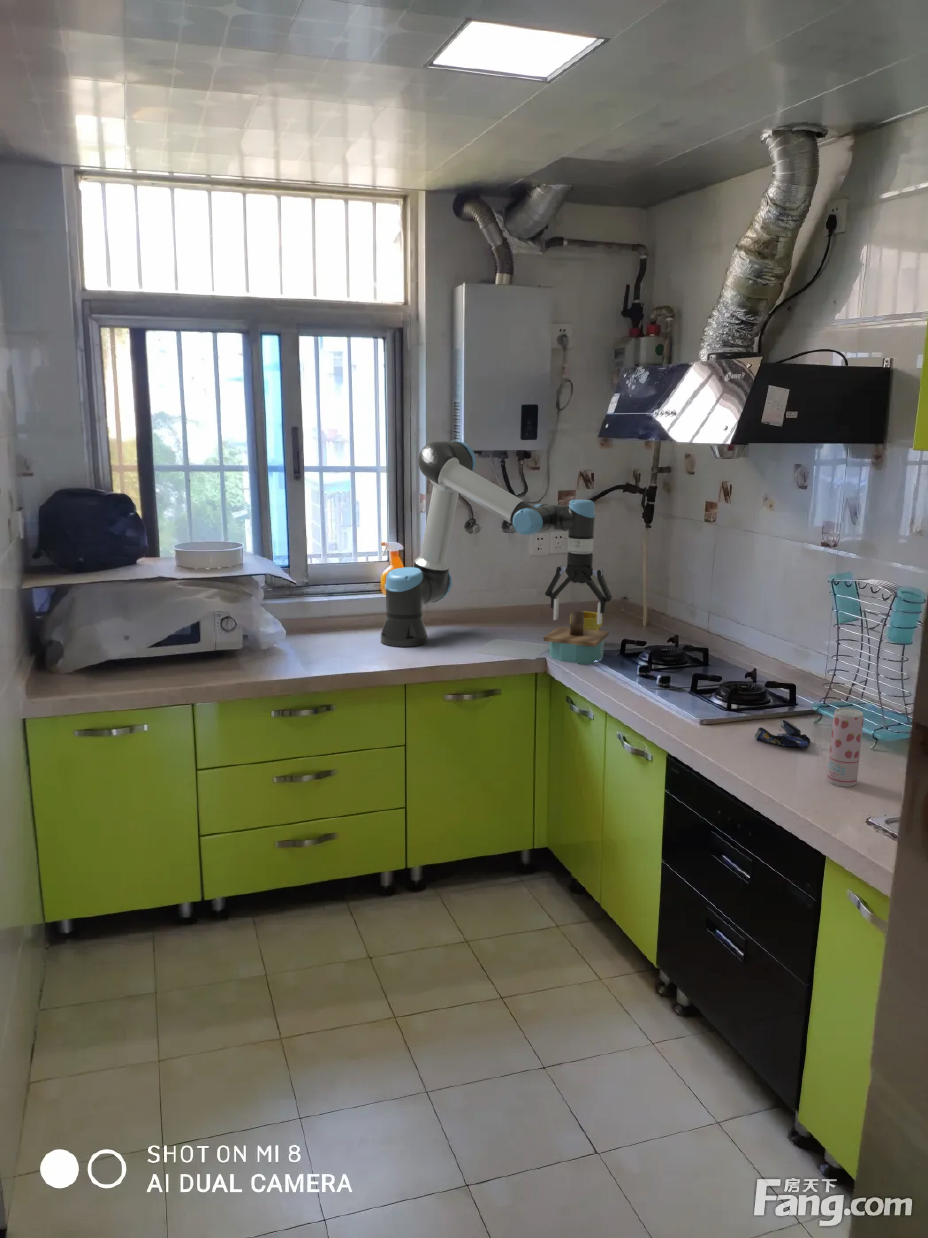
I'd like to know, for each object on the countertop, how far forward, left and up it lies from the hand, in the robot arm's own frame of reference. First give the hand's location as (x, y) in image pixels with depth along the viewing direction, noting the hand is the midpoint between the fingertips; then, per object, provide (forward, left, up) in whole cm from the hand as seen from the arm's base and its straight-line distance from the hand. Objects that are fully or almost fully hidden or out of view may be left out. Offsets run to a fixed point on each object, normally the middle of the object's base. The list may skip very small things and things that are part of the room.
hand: (577, 621), depth 284 cm
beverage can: (+77, -74, -11) cm, 107 cm away
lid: (0, 0, -5) cm, 5 cm away
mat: (-20, 0, -11) cm, 23 cm away
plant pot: (-2, +18, -12) cm, 21 cm away
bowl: (0, 0, -11) cm, 11 cm away
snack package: (+65, -55, -12) cm, 85 cm away
